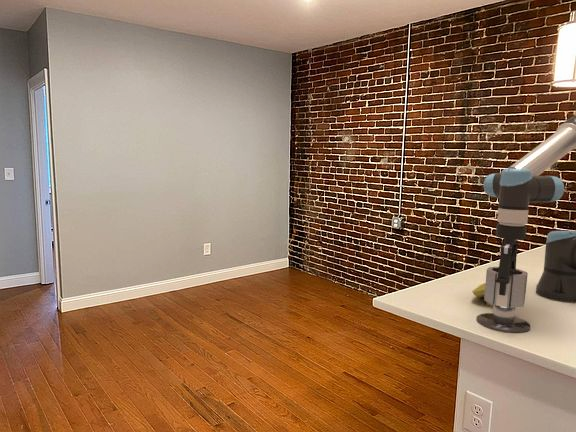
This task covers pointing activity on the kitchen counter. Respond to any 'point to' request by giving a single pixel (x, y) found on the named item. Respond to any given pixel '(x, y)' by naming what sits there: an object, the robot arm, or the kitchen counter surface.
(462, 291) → the kitchen counter surface
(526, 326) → the duct stub
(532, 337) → the kitchen counter surface
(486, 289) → the collar
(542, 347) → the kitchen counter surface
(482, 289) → the plastic component
